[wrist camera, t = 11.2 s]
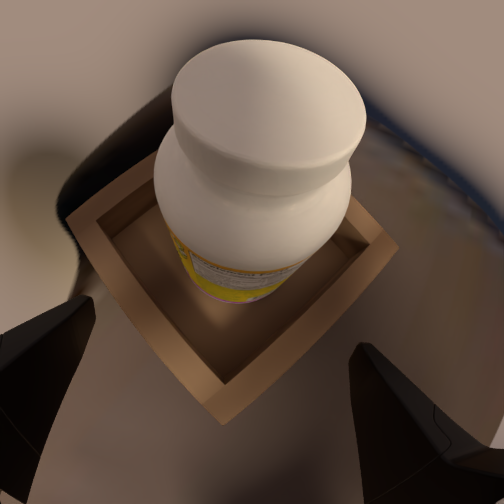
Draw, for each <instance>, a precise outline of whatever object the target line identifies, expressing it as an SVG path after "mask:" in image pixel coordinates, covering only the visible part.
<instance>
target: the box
mask: <svg viewBox="0 0 504 504" xmlns="http://www.w3.org/2000/svg"><path fill="white" fill-rule="evenodd" d="M158 150H159V149H158ZM158 150H157V151H155V152H154V153H152V154H151V155H149V156H148V157H146V158H145V159H143V160H142V161H140V162H139V163H137V164H136V165H134V166H133V167H132V168H130V169H129V170H127V171H126V172H124V173H123V174H122V175H120V176H119V177H118V178H116V179H115V180H113V181H112V182H111V183H109V184H108V185H107V186H105V187H104V188H103V189H101V190H100V191H99V192H98V193H96V194H95V195H94V196H92V197H91V198H90V199H89V200H87V201H86V202H85V203H84V204H82V205H81V206H80V207H79V208H78V209H76V210H75V211H74V212H73V213H72V214H70V215H69V216H68V217H67V218H66V221H67V223H68V225H69V227H70V228H71V230H72V232H73V234H74V235H75V237H76V239H77V241H78V242H79V244H80V246H81V247H82V249H83V251H84V252H85V254H86V256H87V257H88V259H89V260H90V262H91V264H92V265H93V267H94V268H95V270H96V272H97V273H98V275H99V276H100V278H101V279H102V281H103V282H104V284H105V285H106V287H107V288H108V290H109V291H110V293H111V294H112V296H113V297H114V298H115V300H116V301H117V303H118V304H119V305H120V307H121V308H122V310H123V311H124V312H125V314H126V315H127V317H128V318H129V319H130V321H131V322H132V323H133V325H134V326H135V327H136V329H137V330H138V331H139V332H140V334H141V335H142V336H143V338H144V339H145V340H146V341H147V343H148V344H149V345H150V346H151V348H152V349H153V350H154V351H155V353H156V354H157V355H158V356H159V357H160V359H161V360H162V361H163V362H164V363H165V365H166V366H167V367H168V368H169V369H170V370H171V372H172V373H173V374H174V375H175V376H176V377H177V378H178V380H179V381H180V382H181V383H182V384H183V385H184V386H185V387H186V388H187V390H188V391H189V392H190V393H191V394H192V395H193V396H194V397H195V398H196V399H197V400H198V401H199V402H200V403H201V404H202V405H203V407H204V408H205V409H206V410H207V411H208V412H209V413H210V414H211V415H212V416H213V417H214V418H215V419H216V420H217V421H218V422H219V423H220V424H221V425H222V426H224V425H225V424H226V423H227V422H229V421H230V420H231V419H232V418H234V417H235V416H236V415H237V414H238V413H240V412H241V411H242V410H243V409H244V408H246V407H247V406H248V405H249V404H250V403H251V402H253V401H254V400H255V399H256V398H257V397H258V396H259V395H261V394H262V393H263V392H264V391H265V390H266V389H267V388H269V387H270V386H271V385H272V384H273V383H274V382H275V381H276V380H277V379H278V378H279V377H281V376H282V375H283V374H284V373H285V372H286V371H287V370H288V369H289V368H290V367H291V366H292V365H293V364H294V363H295V362H296V361H297V360H299V359H300V358H301V357H302V356H303V355H304V354H305V353H306V352H307V351H308V350H309V349H310V348H311V347H312V346H313V345H314V344H315V343H316V342H317V341H318V340H319V339H320V338H321V337H322V336H323V335H324V333H325V332H326V331H327V330H328V329H329V328H330V327H331V326H332V325H333V324H334V323H335V322H336V321H337V320H338V319H339V318H340V317H341V315H342V314H343V313H344V312H345V311H346V310H347V309H348V308H349V307H350V306H351V305H352V303H353V302H354V301H355V300H356V299H357V298H358V297H359V296H360V294H361V293H362V292H363V291H364V290H365V289H366V287H367V286H368V285H369V284H370V283H371V282H372V280H373V279H374V278H375V277H376V276H377V275H378V273H379V272H380V271H381V270H382V268H383V267H384V266H385V265H386V264H387V262H388V261H389V260H390V259H391V257H392V256H393V255H394V254H395V252H396V251H397V250H398V249H399V247H398V246H397V244H396V243H395V242H394V241H393V240H392V239H391V237H390V236H389V235H388V234H387V233H386V232H385V231H384V229H383V228H382V227H381V226H380V225H379V224H378V223H377V222H376V221H375V219H374V218H373V217H372V216H371V215H370V214H369V213H368V212H367V211H366V210H365V209H364V208H363V207H362V206H361V204H360V203H359V202H358V201H357V200H356V199H355V198H354V197H353V196H352V195H350V200H349V205H348V208H347V211H346V213H345V216H344V218H343V220H342V222H341V224H340V225H339V227H338V228H337V230H336V231H335V233H334V234H333V235H332V236H331V237H330V239H329V240H328V241H327V242H326V243H325V244H324V245H323V246H322V247H321V248H320V249H319V250H318V251H316V252H315V253H314V254H313V255H312V256H311V257H310V258H309V259H308V260H307V261H305V262H304V263H303V264H302V265H301V266H300V267H299V268H298V269H297V270H296V271H295V272H294V273H293V274H292V275H291V276H290V277H289V278H288V279H287V280H285V281H284V282H283V283H282V284H281V285H280V286H279V287H278V288H277V289H276V290H274V291H273V292H272V293H270V294H269V295H267V296H265V297H263V298H261V299H259V300H257V301H253V302H249V303H241V304H235V303H227V302H222V301H219V300H216V299H214V298H212V297H210V296H208V295H207V294H205V293H204V292H202V291H201V290H200V289H199V288H198V287H197V286H196V285H195V284H194V283H193V281H192V280H191V279H190V277H189V275H188V273H187V272H186V270H185V268H184V265H183V263H182V261H181V258H180V256H179V254H178V251H177V249H176V247H175V244H174V242H173V239H172V237H171V235H170V232H169V230H168V227H167V225H166V223H165V220H164V217H163V215H162V213H161V210H160V207H159V204H158V201H157V198H156V194H155V188H154V166H155V160H156V156H157V153H158Z"/></svg>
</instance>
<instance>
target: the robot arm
mask: <svg viewBox="0 0 504 504" xmlns="http://www.w3.org/2000/svg"><path fill="white" fill-rule="evenodd" d="M95 320H96V315H95V308H94V302H93V299H92V297H90V296H86V295H79V296H77V297H75V298H73V299H71V300H69V301H67V302H65V303H63V304H61V305H58V306H57V307H55V308H53V309H50V310H48V311H46V312H44V313H42V314H40V315H38V316H36V317H34V318H32V319H30V320H28V321H26V322H24V323H22V324H20V325H18V326H16V327H15V328H13V329H11V330H9V331H7V332H5V333H4V334H1V335H0V494H1V491H4V492H5V493H7V494H8V495H10V496H12V497H13V498H15V499H16V500H18V501H20V502H21V503H23V504H26V503H27V500H28V496H29V493H30V489H31V486H32V483H33V479H34V476H35V473H36V470H37V467H38V464H39V461H40V458H41V457H40V456H41V454H42V451H43V449H44V446H45V443H46V440H47V438H48V435H49V432H50V430H51V427H52V425H53V422H54V420H55V417H56V415H57V412H58V410H59V408H60V405H61V403H62V400H63V398H64V396H65V394H66V391H67V389H68V387H69V385H70V382H71V380H72V378H73V376H74V374H75V372H76V369H77V367H78V365H79V363H80V361H81V359H82V356H83V354H84V351H85V348H86V345H87V342H88V340H89V337H90V334H91V332H92V329H93V326H94V324H95ZM349 379H350V396H351V406H352V412H353V418H354V425H355V432H356V438H357V445H358V453H359V461H360V469H361V477H362V487H363V497H364V504H504V449H495V448H490V447H487V446H485V445H483V444H481V443H480V442H479V441H478V440H476V439H475V438H474V437H473V436H471V435H470V434H469V433H468V432H466V431H465V430H464V429H463V428H461V427H460V426H459V425H458V424H457V423H455V422H454V421H453V420H452V419H451V418H449V417H448V416H447V415H446V414H445V413H444V412H443V411H442V410H441V409H440V408H439V407H438V406H437V405H436V404H434V403H433V402H432V401H431V400H430V399H429V398H428V397H427V396H426V395H425V394H424V393H423V392H422V391H421V390H420V389H419V388H418V387H417V386H416V385H414V384H413V383H412V382H411V381H410V380H409V379H408V378H407V377H406V376H405V375H404V374H403V373H402V372H401V371H400V370H399V369H398V368H396V367H395V366H394V365H393V364H392V363H391V362H390V361H389V360H388V359H387V358H386V357H385V356H384V355H383V354H382V353H380V352H379V351H378V350H377V349H376V348H375V347H374V346H373V345H372V344H371V343H364V342H360V343H358V345H357V346H356V348H355V350H354V352H353V354H352V355H351V357H350V359H349ZM0 504H1V502H0Z"/></svg>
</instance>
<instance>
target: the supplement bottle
mask: <svg viewBox="0 0 504 504" xmlns="http://www.w3.org/2000/svg"><path fill="white" fill-rule="evenodd" d="M171 100H172V109H173V117H174V124H173V126H172V127H171V128H170V129H169V131H168V132H167V134H166V135H165V137H164V139H163V141H162V143H161V145H160V147H159V150H158V153H157V156H156V160H155V166H154V188H155V194H156V198H157V201H158V204H159V207H160V210H161V213H162V215H163V217H164V220H165V223H166V225H167V227H168V230H169V232H170V235H171V237H172V239H173V242H174V244H175V247H176V249H177V251H178V254H179V256H180V258H181V261H182V263H183V265H184V268H185V270H186V272H187V273H188V275H189V277H190V279H191V280H192V281H193V283H194V284H195V285H196V286H197V287H198V288H199V289H200V290H201V291H202V292H204V293H205V294H207V295H208V296H210V297H212V298H214V299H216V300H219V301H222V302H227V303H235V304H241V303H249V302H253V301H257V300H259V299H261V298H263V297H265V296H267V295H269V294H270V293H272V292H273V291H274V290H276V289H277V288H278V287H279V286H280V285H281V284H282V283H283V282H284V281H285V280H287V279H288V278H289V277H290V276H291V275H292V274H293V273H294V272H295V271H296V270H297V269H298V268H299V267H300V266H301V265H302V264H303V263H304V262H305V261H307V260H308V259H309V258H310V257H311V256H312V255H313V254H314V253H315V252H316V251H318V250H319V249H320V248H321V247H322V246H323V245H324V244H325V243H326V242H327V241H328V240H329V239H330V237H331V236H332V235H333V234H334V233H335V231H336V230H337V228H338V227H339V225H340V224H341V222H342V220H343V218H344V216H345V213H346V211H347V208H348V205H349V200H350V195H351V173H350V167H349V163H348V161H349V159H350V157H351V155H352V154H353V152H354V150H355V149H356V147H357V145H358V144H359V142H360V140H361V138H362V136H363V133H364V130H365V125H366V112H365V107H364V103H363V100H362V98H361V96H360V94H359V92H358V90H357V88H356V87H355V86H354V84H353V83H352V82H351V80H350V79H349V78H348V77H347V76H346V75H345V74H344V73H343V72H342V71H341V70H340V69H338V68H337V67H336V66H334V65H333V64H332V63H330V62H329V61H328V60H326V59H324V58H322V57H320V56H319V55H317V54H315V53H312V52H310V51H308V50H306V49H303V48H301V47H298V46H295V45H291V44H287V43H283V42H275V41H268V40H243V41H232V42H228V43H223V44H220V45H216V46H214V47H211V48H209V49H207V50H205V51H203V52H201V53H199V54H198V55H196V56H195V57H193V58H192V59H191V60H190V61H188V62H187V63H186V64H185V65H184V66H183V68H182V69H181V70H180V71H179V73H178V75H177V76H176V79H175V81H174V84H173V88H172V95H171Z"/></svg>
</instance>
